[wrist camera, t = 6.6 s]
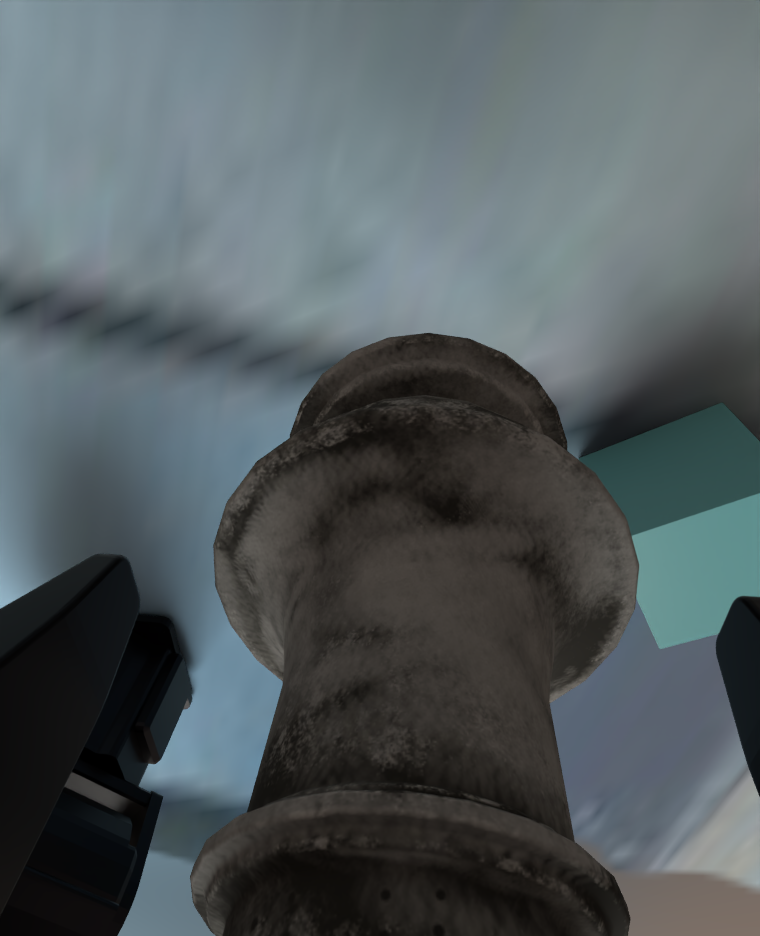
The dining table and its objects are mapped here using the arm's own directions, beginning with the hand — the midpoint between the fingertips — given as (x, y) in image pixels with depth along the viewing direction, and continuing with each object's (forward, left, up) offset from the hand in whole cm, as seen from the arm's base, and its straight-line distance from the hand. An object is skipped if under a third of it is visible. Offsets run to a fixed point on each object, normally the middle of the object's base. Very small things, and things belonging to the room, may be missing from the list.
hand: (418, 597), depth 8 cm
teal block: (+9, -6, -13) cm, 17 cm away
